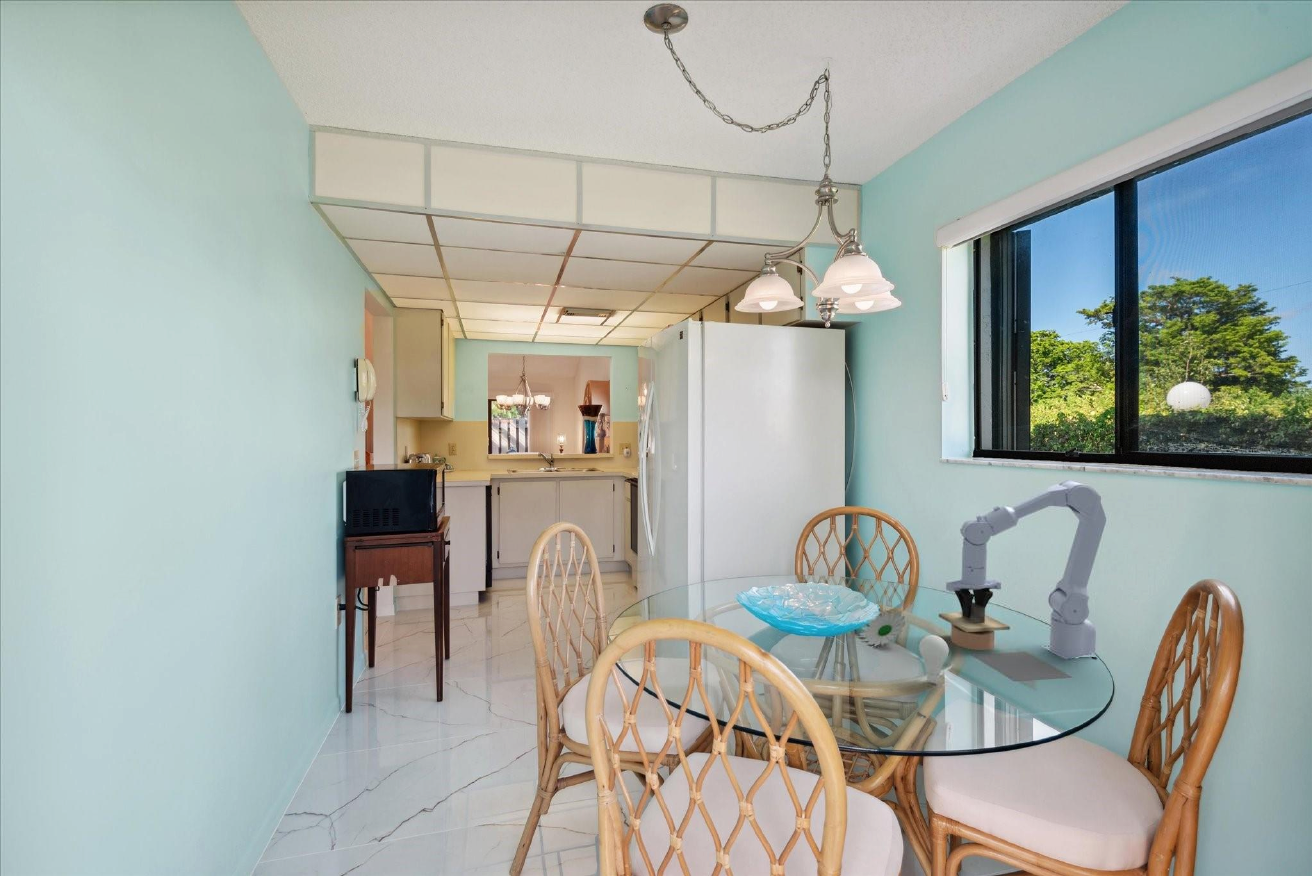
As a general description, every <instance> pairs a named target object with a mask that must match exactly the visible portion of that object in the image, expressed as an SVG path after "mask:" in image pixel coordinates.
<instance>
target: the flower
mask: <svg viewBox="0 0 1312 876" xmlns="http://www.w3.org/2000/svg"><path fill="white" fill-rule="evenodd" d="M880 613H881V615H878V614H877V615H878V616H877V617H876V618H874V619H872V620H873V621H871V622H870V623H868V624H867V625H868V626H862V627H861V630H863V632H860V633H859V638H864V639H862V640H861V642H866V646H872V645H873V647H874V648H875V647H877V646H878V645H881V646H883V645H886V644H887V643H888V642H889V641H893V640H895V639H896V638H897V635H899V634H901V632H903V630H902V629H903V628H904V627H905V625H906V621H905V616H904V615H902V612H901V611H899V610H897V612H895V610H894V609H891V610H890V612H888V611H887V610H883V611H881V612H880Z"/></svg>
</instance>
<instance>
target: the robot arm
mask: <svg viewBox="0 0 1312 876" xmlns="http://www.w3.org/2000/svg"><path fill="white" fill-rule="evenodd" d="M1049 507H1062V508H1069V509H1070V510H1071V512H1072V513H1073V514H1074V515H1075V517H1076V518H1077V519H1078V520H1079V522H1078V524H1077V528H1076V530H1075V531H1076V532H1075V535H1074V538H1073V542H1072V545H1071V548H1070V552H1069V555H1068V558H1067V562H1066V566H1065V569H1064V572H1063V575H1062V578H1061V579H1060V580H1059V581H1058V582H1057V583H1056V585H1055V588H1054V590H1052V591H1051V592H1050V593H1049V595H1048V599H1047V601H1048V604H1049V607H1051V609H1052V612H1051V614H1050V629H1049V631H1050V632H1049V646H1050V647H1047V646H1048V645H1041V648H1042V649H1044V650H1046V649H1050V650H1049V651H1048V652H1050V651H1051V652H1050V653H1052V654H1054V655H1057V656H1058V657H1060V658H1062V659H1064V660H1070V659H1069V658H1075V659H1077V658H1076V657H1079V656H1083V655H1089V654H1090V655H1091V654H1092V653H1094V654H1095V655H1096V641H1097V640H1096V637H1097V632H1096V627H1095V626H1094V624H1093V623H1092V621H1090V620H1089V619H1088V617H1089V615H1090V609H1089V604H1088V603H1089V599H1090V598H1089V597H1090V596H1089V591H1088V588H1087V587H1088V582H1089V580H1090V576H1091V573H1092V570H1093V566H1094V563H1095V560H1096V556H1097V552H1098V550H1099V547H1100V542H1101V540H1102V537H1103V533H1104V530H1105V527H1106V523H1107V517H1106V513H1105V509H1104V508H1103V504H1102V496H1101V495H1100V494H1099V493H1098V491H1096V490H1095V489H1094V487H1092V486H1090V485H1088V484H1084V483H1079V482H1078V481H1075V480H1069V479H1068V480H1064V481H1062V482H1061V481H1060V483H1059V484H1058V483H1057V484H1054V485H1051V486H1049V487H1047V488H1046V489H1044V490H1042V491H1040V492H1038V493H1036V494H1034V495H1033V496H1030V497H1028V498H1027V499H1025V500H1023V501H1021V502H1019V503H1016V504H1015V505H1014V506H1010V507H1008V506H1005V505H1002V506H1001V507H1000V506H998V505H997V506H994V507H993V510H991V511H989V512H987V513H985V514H984V515H976V516H975V518H976V519H968V520H965V522H964V523H963V524H962V526H961V528H960V534H961V536H962V537H963V540H962V544H963V545H962V548H961V549H962V551H961V554H962V555H961V556H962V557H961V558H962V559H961V578H960V580H959V579H958V580H955V581H948V582H945V583H946V584H945V586H946V587H945V590H946V591H949V592H954V593H955V595H956V597H957V599H958V602H959V604H960V608H961V613H963V616H964V617H966V618H970V616H971V606H972V602H973V601H974V603H976V604H978V605H980V606H982V607H985V609H986V607H987V605H988V603H989V601H990V600H991V599H992V597H994V592H993V591H991V590H1002V582H1001V581H999V580H997V579H995V580H989V579H987V557H988V552H987V543H988V542H989V541H990V539H991V537H994V536H997V535H999V534H1001V533H1003V532H1005V531H1007V530H1009V529H1011V528H1015V527H1016V526H1017V524H1018V522H1019V520H1020V519H1021V518H1025V517H1026V516H1029V515H1031V514H1034V513H1036V512H1038V511H1041V510H1044V509H1046V508H1049ZM971 591H972V593H971ZM1044 646H1046V647H1044ZM1090 651H1091V652H1092V653H1091V652H1090Z"/></svg>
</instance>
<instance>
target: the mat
mask: <svg viewBox="0 0 1312 876" xmlns="http://www.w3.org/2000/svg"><path fill="white" fill-rule="evenodd" d="M971 656H972V657H974V658H976V659H977V660H979V661H980V662H982V663H984V664H985V665H987V666H989V667H990V668H992V669H994V670H995V671H997V672H998V673H1000V674H1002V675H1004V676H1005V677H1006V678H1008V679H1010V680H1011V681H1013V682H1025V681H1037V680H1038V681H1039V680H1051V679H1054V680H1055V679H1068V678H1073V676H1072V675H1070V674H1068V673H1066V672H1064V671H1063V670H1060V669H1058V668H1057V667H1055V666H1053V665H1051V664H1050V663H1047V662H1045V661H1043V660H1041V659H1040V658H1038V657H1036V656H1034V655H1033V654H1030V653H1029V652H1026V651H1015V652H1014V651H1012V652H1011V651H1010V652H999V653H998V652H997V653H996V652H995V653H981V654H978V653H977V654H971Z"/></svg>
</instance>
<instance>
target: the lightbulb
mask: <svg viewBox="0 0 1312 876" xmlns="http://www.w3.org/2000/svg"><path fill="white" fill-rule="evenodd" d="M918 648H919V653H920V655H921V657H922V659H923V661H924V662H923V663H924V664H925V671H926V679H927V681H928V682H929V683H930V684H932V683H934V684H936V683H939V682H940V675H941V673H942V667H943V665H944V663H945V662H946V660H947V659H948V657H949V652H950V649H949V646H948V643H947V642H946V641H945V640H944V639H943V638H942V637H940V636H938V635H936V634H935V635H934V634H930V635H927V636H924V637H923V638H921V640H920V642H919V647H918ZM934 684H933V685H934Z"/></svg>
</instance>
